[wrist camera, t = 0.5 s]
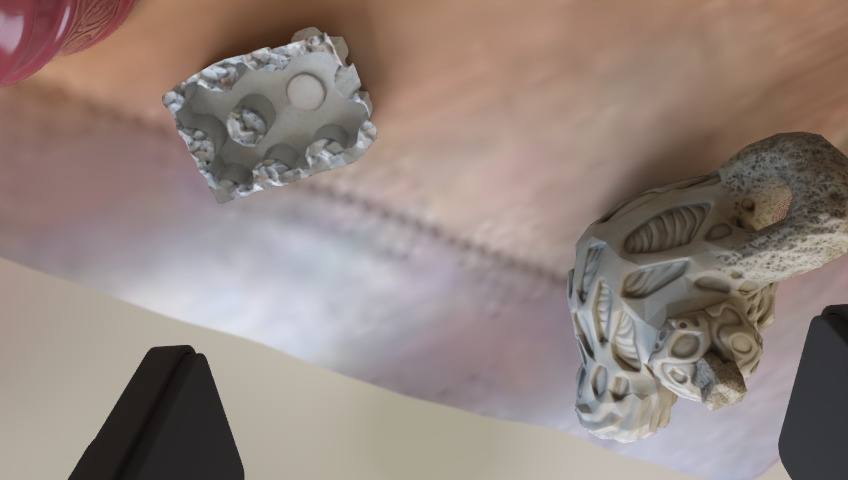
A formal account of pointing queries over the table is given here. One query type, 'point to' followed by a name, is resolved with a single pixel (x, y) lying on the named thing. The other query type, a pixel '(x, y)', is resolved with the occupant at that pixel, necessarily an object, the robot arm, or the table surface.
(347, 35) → the table surface
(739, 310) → the teapot
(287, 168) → the egg carton
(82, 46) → the kitchen canister
